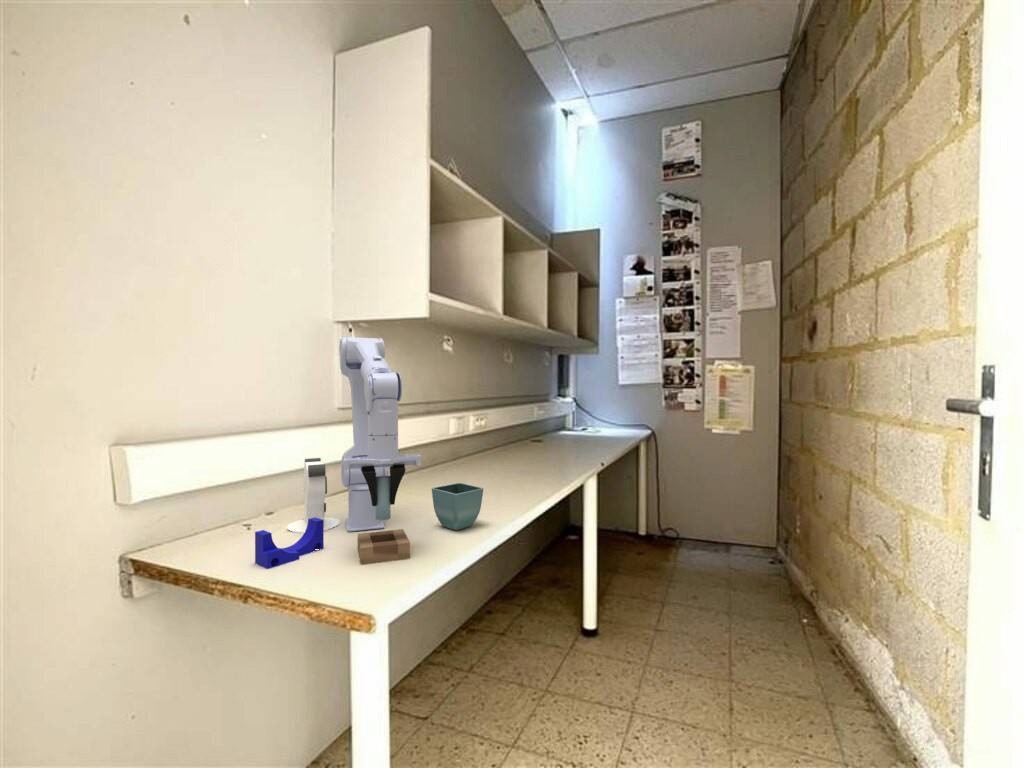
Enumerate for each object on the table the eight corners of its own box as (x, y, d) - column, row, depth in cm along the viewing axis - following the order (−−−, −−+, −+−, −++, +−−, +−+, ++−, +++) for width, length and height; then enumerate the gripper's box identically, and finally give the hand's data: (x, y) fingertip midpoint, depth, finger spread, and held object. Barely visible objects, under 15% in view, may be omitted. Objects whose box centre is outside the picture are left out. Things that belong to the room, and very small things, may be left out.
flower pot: (484, 526, 113) (484, 487, 113) (456, 535, 106) (456, 494, 106) (459, 518, 119) (459, 482, 119) (430, 527, 112) (430, 488, 112)
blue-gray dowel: (375, 516, 96) (375, 476, 96) (390, 515, 97) (390, 475, 97) (375, 520, 93) (375, 478, 93) (391, 519, 94) (390, 477, 94)
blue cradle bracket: (267, 570, 87) (267, 536, 87) (255, 564, 90) (255, 532, 90) (327, 551, 97) (327, 521, 97) (315, 546, 100) (315, 517, 99)
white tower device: (343, 529, 110) (343, 463, 110) (288, 537, 105) (288, 467, 105) (336, 516, 121) (336, 456, 121) (285, 522, 116) (285, 459, 116)
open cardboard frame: (357, 548, 98) (357, 533, 98) (403, 543, 101) (403, 528, 101) (360, 564, 89) (360, 548, 89) (410, 558, 92) (410, 542, 92)
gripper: (344, 438, 89) (344, 512, 89) (424, 435, 94) (424, 505, 94) (343, 434, 95) (343, 503, 95) (417, 431, 100) (417, 497, 100)
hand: (383, 504), depth 95 cm, fingers closed on blue-gray dowel, 3 cm apart
